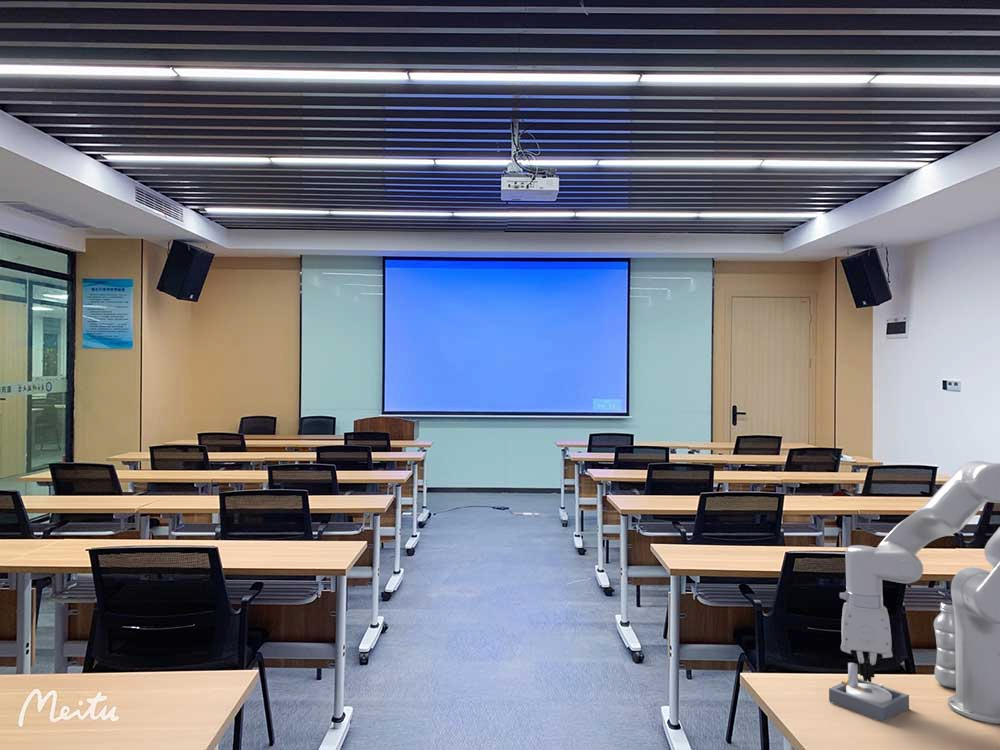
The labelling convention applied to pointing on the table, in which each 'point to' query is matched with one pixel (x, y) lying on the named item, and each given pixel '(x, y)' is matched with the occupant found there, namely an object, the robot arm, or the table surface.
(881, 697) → the white crank wheel
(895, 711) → the housing
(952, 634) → the plastic bottle
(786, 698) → the table surface
